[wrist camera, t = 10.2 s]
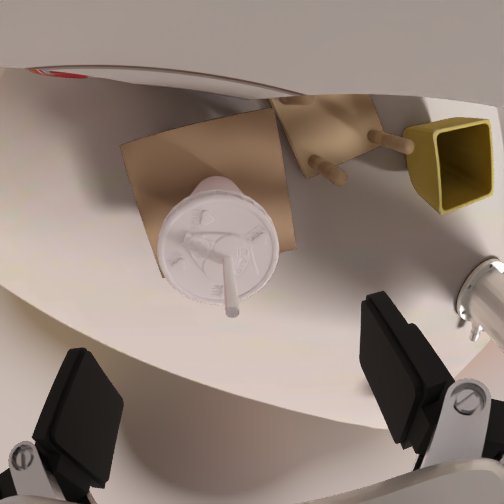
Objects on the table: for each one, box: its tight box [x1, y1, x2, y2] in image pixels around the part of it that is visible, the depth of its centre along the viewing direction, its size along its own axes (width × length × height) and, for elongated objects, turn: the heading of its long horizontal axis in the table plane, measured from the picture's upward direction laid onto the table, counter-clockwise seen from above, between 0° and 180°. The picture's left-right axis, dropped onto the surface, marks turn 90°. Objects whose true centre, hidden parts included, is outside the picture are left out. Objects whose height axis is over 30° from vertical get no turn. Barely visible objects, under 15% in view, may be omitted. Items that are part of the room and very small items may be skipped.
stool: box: [120, 108, 296, 278], centre depth 28 cm, size 12×12×9 cm
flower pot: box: [403, 117, 494, 215], centre depth 29 cm, size 9×9×9 cm
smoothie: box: [157, 176, 279, 318], centre depth 18 cm, size 6×6×14 cm
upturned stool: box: [268, 94, 414, 186], centre depth 27 cm, size 10×10×9 cm
